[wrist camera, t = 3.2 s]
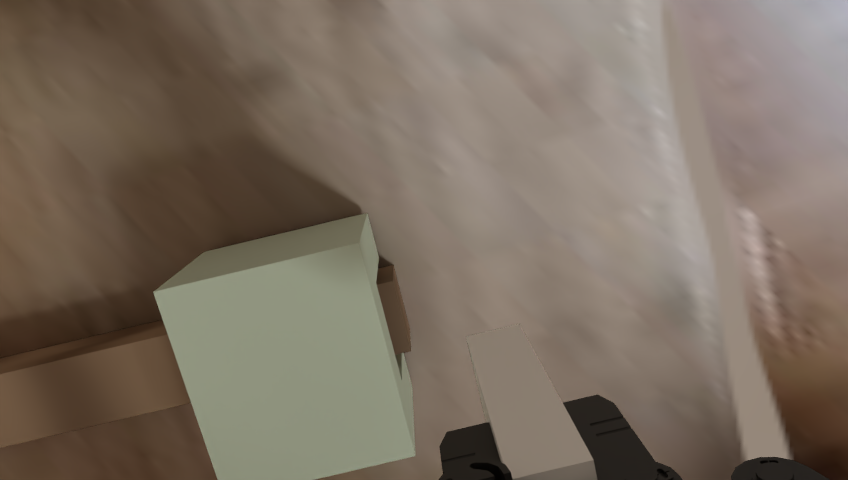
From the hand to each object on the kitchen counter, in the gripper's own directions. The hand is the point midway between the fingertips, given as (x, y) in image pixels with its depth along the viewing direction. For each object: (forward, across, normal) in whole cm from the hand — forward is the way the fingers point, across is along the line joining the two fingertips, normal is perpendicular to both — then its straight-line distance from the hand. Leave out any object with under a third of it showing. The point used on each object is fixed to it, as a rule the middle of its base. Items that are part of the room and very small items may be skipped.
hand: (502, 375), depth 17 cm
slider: (+11, +7, 0) cm, 13 cm away
